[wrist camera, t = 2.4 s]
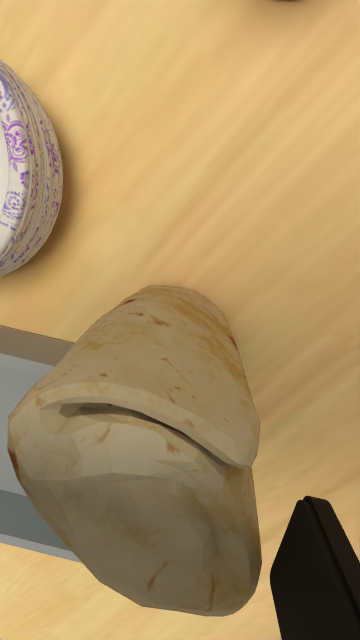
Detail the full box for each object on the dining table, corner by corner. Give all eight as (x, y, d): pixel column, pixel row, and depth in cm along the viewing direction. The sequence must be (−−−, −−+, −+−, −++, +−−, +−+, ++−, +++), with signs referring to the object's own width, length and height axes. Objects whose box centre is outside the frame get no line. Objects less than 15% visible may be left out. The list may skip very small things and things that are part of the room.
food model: (118, 311, 27) (-96, 488, 8) (173, 255, 26) (75, 305, 6) (197, 387, 28) (181, 706, 9) (254, 339, 27) (381, 597, 7)
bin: (132, 357, 28) (117, 381, 23) (101, 515, 33) (83, 563, 28) (-63, 310, 28) (-117, 325, 24) (-66, 473, 33) (-112, 514, 28)
